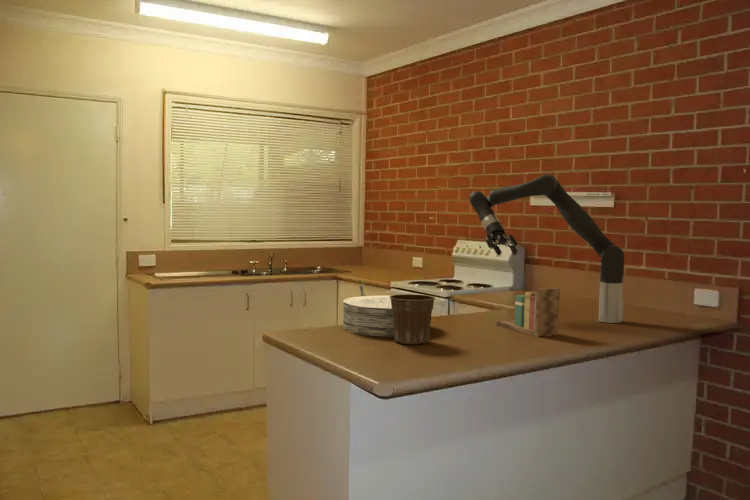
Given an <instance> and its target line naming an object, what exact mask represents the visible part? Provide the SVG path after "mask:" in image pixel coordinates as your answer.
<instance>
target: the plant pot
mask: <svg viewBox="0 0 750 500" xmlns="http://www.w3.org/2000/svg"><path fill="white" fill-rule="evenodd" d="M389 296H390V299H391V307H392V309H393V321H394V337H393V338H394V342H395V343H399V344H401V345H402V344H404V345H407V346H408V345H409V346H410V345H412V346H413V345H421V344H423V345H425V344H427V343H429V340H430V331H431V323H432V314H433V313H432V312H433V309H434V305H435V303H434V302H435V300H436V297H435V296H433V295H425V294H411V293H410V294H409V293H408V294H394V295H389Z"/></svg>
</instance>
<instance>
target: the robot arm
mask: <svg viewBox="0 0 750 500" xmlns="http://www.w3.org/2000/svg"><path fill="white" fill-rule="evenodd" d="M536 196H545V197H546V198H548V199H549V200H550V201H551V203H552V204H554V205H555V207H556V208H557V210H558V211H559V213H560V215H561V216H562V219H564V221H565V222H566V223H567V224H568V226H569V227H570V228H571V229H572V230H573V231H574V232H575V233H576V234H577V235H578V236H579V237H580V238H582V240H584V241H586V243H588V244H589V245H590V246H591V247H592V249H593V250H594V251H595V252H596V253H597V255H598V256H599V258H600V276H599V295H598V296H599V298H598V322H602V323H608V324H620V323H622V322H623V321H624V319H623V315H624V300H623V282H624V273H625V272H624V271H625V270H624V269H625V253H624V251H623V249H622V248H620V247H619V246H617V245H616V244H615V243H614V242H612V241H611V240H610V239H609V238H608V237H607V236H606V235H605V234H604V233H603V232H602V230H601V228H600V227H599V225H597V223H596V222H595V220H594V219H593V218H592V216H591V215H590V214H589V213H588V212H587V211H586V210H585V209H584V208H583V207H582V206H581V205H580V204H579V203H578V202H577V201H576V200H575V199H574V198H573V197H571V196H570V195H569V193H567V191H566V190H565V188H564V187H563V186H562V185H561V184H560V182H559V180H558V179H557V178H556V177H555V176H554V175H552V174H550V173H549V174H548V173H547V174H546V173H545V174H541V175H540V176H538V177H537V178H534V179H532V180H530V181H527V182H524V183H519V184H515V185H514V184H512V185H508V186H507V185H506V186H504V187H499V188H495V189H492V190H490V192H489V194H488V195H487V196H485V195H484V194H483V192H482V191H479V190H474V191H472V192H471V193H470V195H469V200H468V201H469V203H470V204H471V206H472V207H473V209H474V211H475V212H476V214H477V215H478V219H479V220H480V221H481V224H482V227H483V229H484V231H485V232H486V236H485V237H484V240H485V242H486V244H487V246H488V248H489V249H493V251H494V252H495V254H496V255H498V256H501V254H502V251H501V248H500V247H499V246H500V245H501V246H505V247H506V248H507V247H508V248H509V249H510V251H511V253H512V255H513V256H516V255H517V253H518V249H517V246H518V244H519V243H518V242H517V241H516V239H515V237H514V235H513V234H510V235H507V234H506V231H505V230H506V229H505V228H504V226H503V225H502V223H501V221H500V219H499V218H498V217H497V215H496V214H495V211H494V210H493V209H492V208H493V207H494V206H496V205H501V204H505V203H509V202H513V201H515V200H516V201H517V200H521V199H524V198H529V197H536Z"/></svg>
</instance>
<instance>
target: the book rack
mask: <svg viewBox="0 0 750 500" xmlns="http://www.w3.org/2000/svg"><path fill="white" fill-rule="evenodd" d="M560 290H561V288H558V287H551V288H536V291H527V292H525V293H524V295H525V307H524V327H520V326H517V325H515V319H514V320H513V319H512V320H498V321H496V326H498V327H501V326H502V328H505V329H508V328H509V329H508V330H511V329H512V330H511V331H515V330H516V332H518V331H519V333H523V334H525V333H526V335H529V336H532V335H533V337H536V338H540V336H543V337H551V336H552V335H554V336H559V317H560V316H559V315H560ZM552 337H553V336H552Z"/></svg>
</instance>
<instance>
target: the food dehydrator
mask: <svg viewBox="0 0 750 500" xmlns="http://www.w3.org/2000/svg"><path fill="white" fill-rule="evenodd" d="M360 280H361V282H360V283H361V285H359V292H360V294H361V295H360V296H353V297H347V298H345V299H343V306H342V307H343V309H342V312H343V314H342V318H343V320H342V321H343V322H342V328H344V329H346V330H348V331H351V332H354V333H353V334H355V333H358V334H357V335H361V334H362V336H368V335H369V336H370V337H383V338H385V337H386V338H392V337H393V338H394V321H393V309H392V307H391V299H390V296H391V295H365V292H364V288H363V287H364V286H363V279H360ZM344 329H343V330H344ZM346 330H345V331H346ZM348 331H347V332H348ZM351 332H350V333H351Z"/></svg>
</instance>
